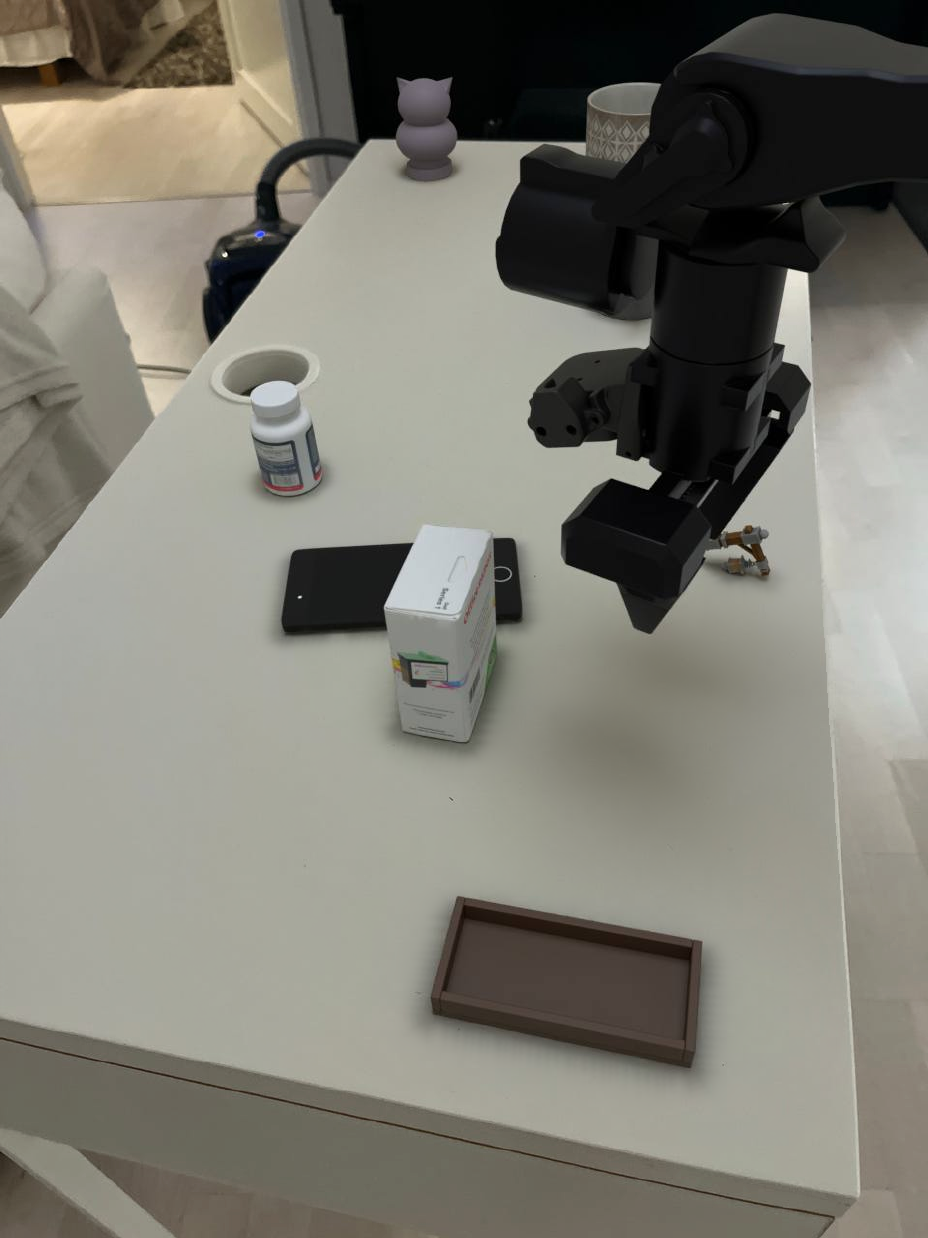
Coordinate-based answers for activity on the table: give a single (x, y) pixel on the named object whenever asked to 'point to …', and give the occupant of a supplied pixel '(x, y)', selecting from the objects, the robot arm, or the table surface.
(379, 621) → the cell phone
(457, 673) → the ink box
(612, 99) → the planter
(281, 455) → the pill bottle
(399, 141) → the cat figurine
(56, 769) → the table surface
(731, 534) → the wooden post with brackets
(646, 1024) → the walnut tray
